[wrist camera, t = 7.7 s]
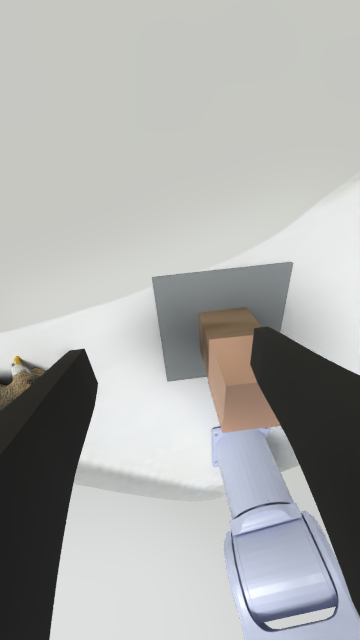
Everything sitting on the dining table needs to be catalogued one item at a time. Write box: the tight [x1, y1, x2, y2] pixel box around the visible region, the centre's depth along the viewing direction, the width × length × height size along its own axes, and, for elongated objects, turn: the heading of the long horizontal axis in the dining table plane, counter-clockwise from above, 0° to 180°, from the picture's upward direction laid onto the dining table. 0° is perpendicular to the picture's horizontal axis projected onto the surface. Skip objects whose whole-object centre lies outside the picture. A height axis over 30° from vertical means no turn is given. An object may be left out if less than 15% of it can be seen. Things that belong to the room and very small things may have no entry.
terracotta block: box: [208, 335, 281, 433], centre depth 16 cm, size 4×4×4 cm
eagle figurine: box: [0, 356, 46, 411], centre depth 20 cm, size 8×7×9 cm
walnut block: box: [199, 307, 262, 377], centre depth 20 cm, size 4×4×4 cm
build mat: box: [152, 262, 293, 381], centre depth 22 cm, size 12×12×1 cm
